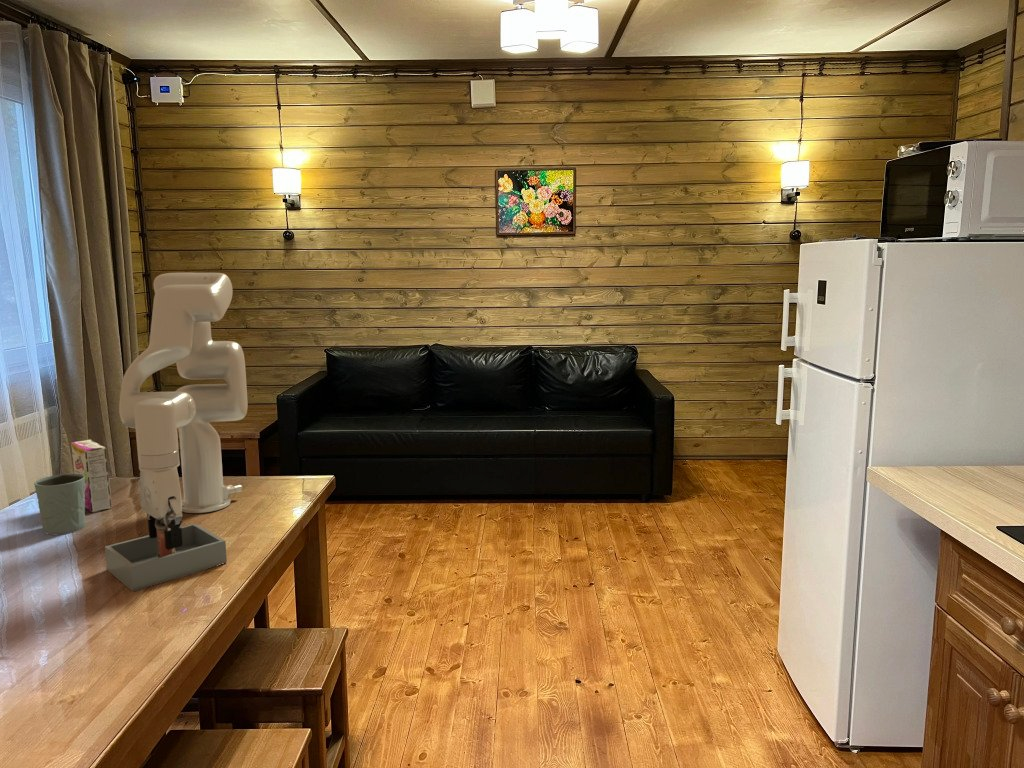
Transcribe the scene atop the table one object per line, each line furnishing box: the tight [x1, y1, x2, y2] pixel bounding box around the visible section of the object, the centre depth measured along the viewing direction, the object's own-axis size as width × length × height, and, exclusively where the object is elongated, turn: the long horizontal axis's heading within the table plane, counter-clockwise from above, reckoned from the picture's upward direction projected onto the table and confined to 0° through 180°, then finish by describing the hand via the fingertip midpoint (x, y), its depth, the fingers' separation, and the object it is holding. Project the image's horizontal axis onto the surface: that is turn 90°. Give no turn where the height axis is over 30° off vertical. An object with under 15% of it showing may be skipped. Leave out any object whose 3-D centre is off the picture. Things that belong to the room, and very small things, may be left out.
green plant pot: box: [33, 473, 86, 535], centre depth 175 cm, size 10×10×12 cm
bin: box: [104, 523, 228, 592], centre depth 154 cm, size 19×15×5 cm
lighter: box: [155, 513, 176, 558], centre depth 153 cm, size 8×3×10 cm, turn 27°
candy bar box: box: [70, 439, 112, 513], centre depth 190 cm, size 11×5×16 cm, turn 47°
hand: (165, 541), depth 153 cm, fingers closed on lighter, 7 cm apart
